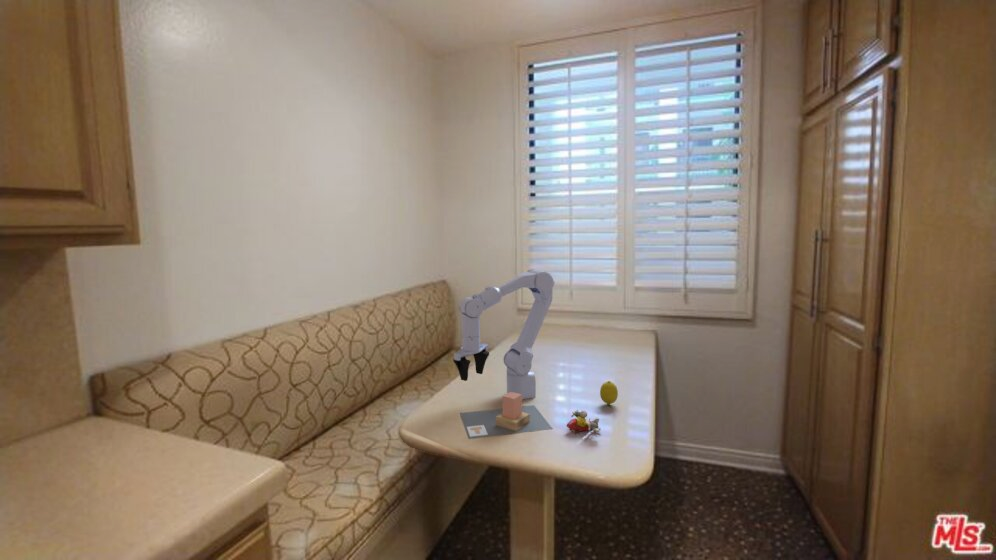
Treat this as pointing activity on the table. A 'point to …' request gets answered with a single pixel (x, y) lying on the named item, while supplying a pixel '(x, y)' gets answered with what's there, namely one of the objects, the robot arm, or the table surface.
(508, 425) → the slab
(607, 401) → the lemon
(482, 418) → the board
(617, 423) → the table surface
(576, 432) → the toy airplane
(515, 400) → the pillar
